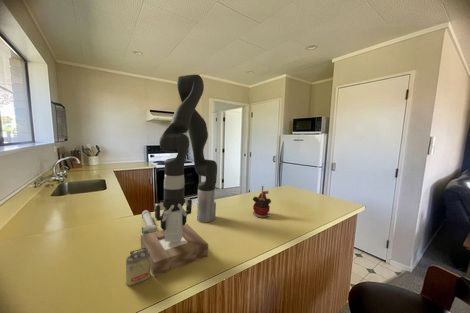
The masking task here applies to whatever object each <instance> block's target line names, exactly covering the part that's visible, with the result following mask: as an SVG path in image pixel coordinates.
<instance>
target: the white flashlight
mask: <svg viewBox="0 0 470 313" xmlns="http://www.w3.org/2000/svg"><path fill="white" fill-rule="evenodd" d="M141 219H143V221H144V224H145V225H142V226H141V234H142V235H145V234H149V233H153V232H157V231H158V228H157V225H155V223H154V221H153V217H152V213H151V212H150V211H149V210H148V209H145V210H143V211H142V212H141Z"/></svg>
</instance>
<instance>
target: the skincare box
mask: <svg viewBox="0 0 470 313" xmlns="http://www.w3.org/2000/svg"><path fill="white" fill-rule="evenodd" d="M165 212H167V210H166V211H165ZM165 221H166V230H165V242H180V241H181V239H182V236H183V214H182V211H181V210H177V211H172V212H170V214H169V216H167V218H166V219H165Z"/></svg>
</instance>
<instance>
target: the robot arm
mask: <svg viewBox="0 0 470 313" xmlns="http://www.w3.org/2000/svg"><path fill="white" fill-rule="evenodd" d="M204 86H205V84H204V81H203V78H202V76H201V75H199V74H188V75H187V74H186V75H180V76H178V77H177V79H176V87H177V91H178V95H179V98H180V102H181V103H180V104H179V105H178V106H177V108H176V109H175V111H174V113H173V115H172V118H171V122H170V123H169V125H168V126H167V127H166V128H165V130H164V131H163V133H162V134H161V136H160V137H159V138H160V139H159V146H160V149H161V150H162V151H163V152H164V153H165V152H166V153H177V154H176V157H171V158H167V159H166V160H165V161H164V177H163V178H164V179H163V202H162V203H161V202H160V203H155V204H154V219H155V220H156V221H157V222H160V229H161V230H166V221H165V219H166V218H167V216H169V214H170V212H172V211H177V210H181V211H182V214H183V225H185V224H187V217H188V215H191V214H192V205H193V200H192V199H191V198H189V197H187V198H185V184H186V183H185V181H186V180H185V161H186V157H187V154H188V151H189V147H190V144H191V148H192V149H191V150H192V154H193V164H194V171H195V173H196V174H197V176H200V177H204V178H205V179H204V180H205V181H201V182H199V183H198V185H197V203H196V204H197V210H196V220H197V221H198V222H200V223H211V222H213V221H214V220H216V213H217V212H216V210H217V208H216V206H217V202H216V201H215V198H216V197H215V196H216V195H215V194H216V184H217V175H218V163H217V162H216V161H215V160H212V159H205V155H204V154H205V153H204V148H205V146H206V144H207V141H208V138H209V133H208V127H207V122H206V120H205V119H204V117H202V115H201V114H200V113H199V112H198V111H197V110H196V107H197V106H198V104H199V102H200V100H201V98H202V95H203V93H204V89H205V88H204ZM187 132H188V135H189V136H188V135H187V134H186V133H187ZM190 142H191V143H190ZM184 205H186V206H185V209H184V207H183V206H184ZM163 207H164V209H163V210H162V208H163ZM161 210H162V213H161ZM166 210H167V212H165V211H166Z"/></svg>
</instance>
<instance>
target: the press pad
mask: <svg viewBox="0 0 470 313" xmlns="http://www.w3.org/2000/svg"><path fill="white" fill-rule="evenodd" d="M159 242H160V243H161V245H162V246H163V248H164V250H167V249H170V248H173V247H176V246H179V245H183V244H186V243H188V242H187V241H186V240H185V239H184V237H183V236H182V239H181V241H180V242H165V238H164V239H161V240H159Z"/></svg>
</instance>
